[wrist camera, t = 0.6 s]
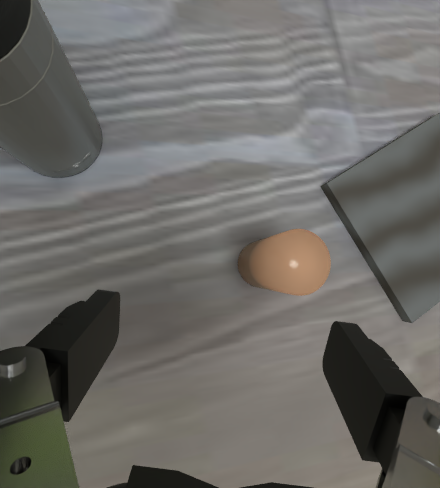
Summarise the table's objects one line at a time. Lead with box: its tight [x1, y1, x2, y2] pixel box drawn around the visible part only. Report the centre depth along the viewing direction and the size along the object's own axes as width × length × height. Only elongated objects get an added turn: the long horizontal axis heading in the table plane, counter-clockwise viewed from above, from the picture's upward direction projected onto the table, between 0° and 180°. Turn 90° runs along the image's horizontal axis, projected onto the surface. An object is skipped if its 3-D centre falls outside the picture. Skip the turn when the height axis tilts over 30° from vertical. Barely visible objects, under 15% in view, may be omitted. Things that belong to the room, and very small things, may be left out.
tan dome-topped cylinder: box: [238, 229, 330, 296], centre depth 30 cm, size 6×6×11 cm
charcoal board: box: [321, 113, 440, 323], centre depth 39 cm, size 20×20×2 cm
